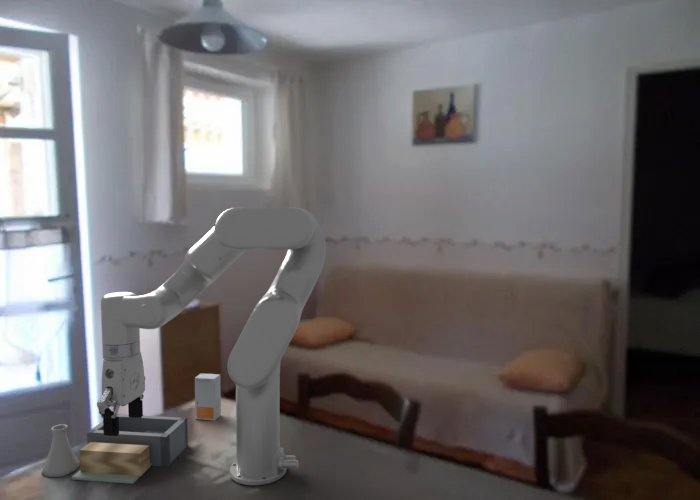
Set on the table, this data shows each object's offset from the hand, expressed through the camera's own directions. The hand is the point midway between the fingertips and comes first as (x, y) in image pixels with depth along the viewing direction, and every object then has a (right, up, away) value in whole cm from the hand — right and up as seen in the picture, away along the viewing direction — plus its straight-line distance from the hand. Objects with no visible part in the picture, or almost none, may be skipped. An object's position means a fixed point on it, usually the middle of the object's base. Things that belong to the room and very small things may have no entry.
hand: (124, 425), depth 117 cm
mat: (-3, -11, +1) cm, 11 cm away
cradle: (0, -10, +10) cm, 14 cm away
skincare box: (+10, -9, +32) cm, 35 cm away
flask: (-15, -11, +2) cm, 19 cm away
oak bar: (-2, -10, +1) cm, 11 cm away
